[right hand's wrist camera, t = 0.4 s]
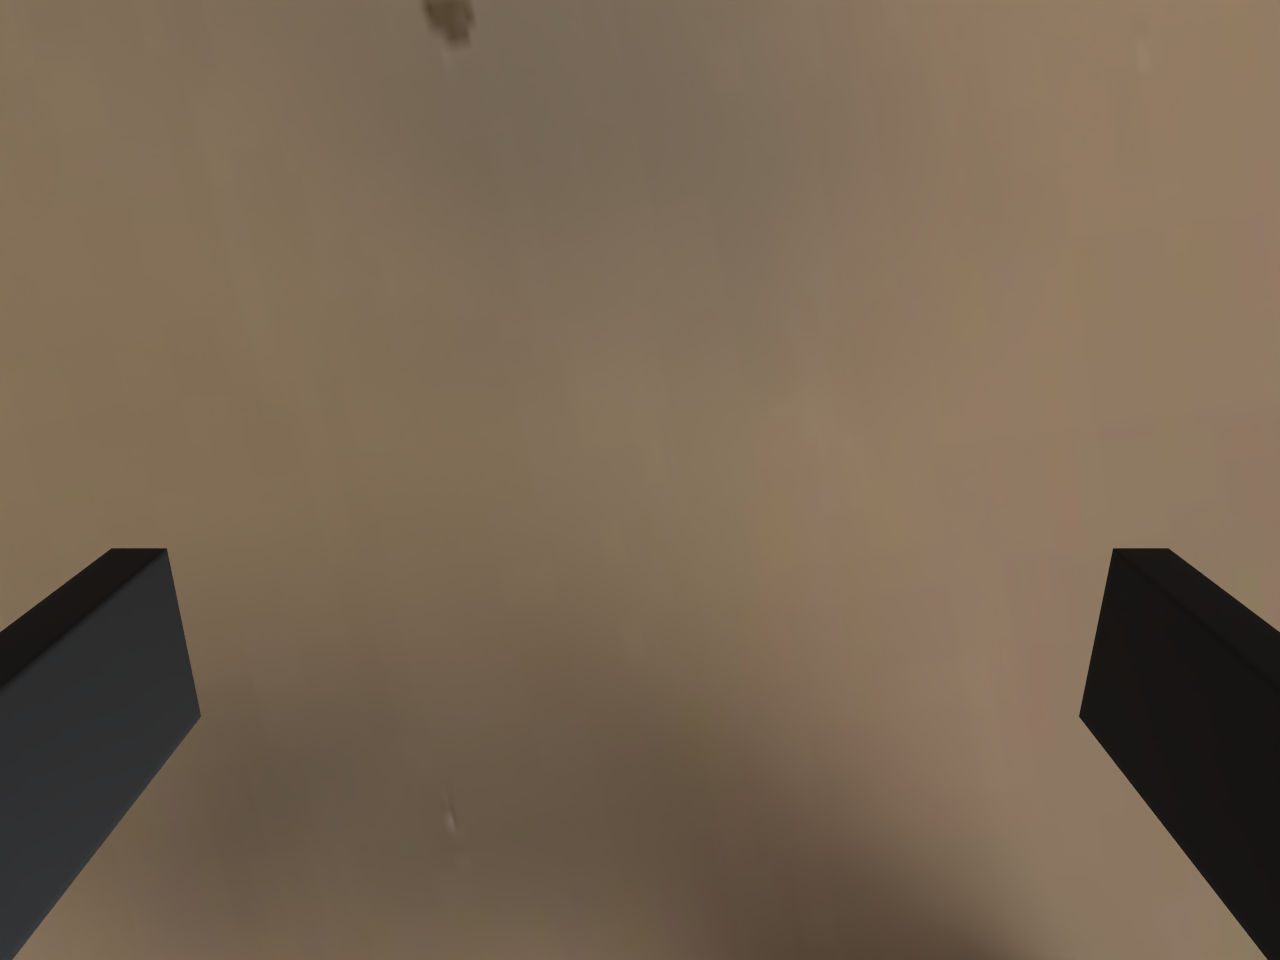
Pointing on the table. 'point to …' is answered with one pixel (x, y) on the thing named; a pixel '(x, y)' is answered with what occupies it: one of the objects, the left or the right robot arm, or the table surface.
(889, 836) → the table surface
